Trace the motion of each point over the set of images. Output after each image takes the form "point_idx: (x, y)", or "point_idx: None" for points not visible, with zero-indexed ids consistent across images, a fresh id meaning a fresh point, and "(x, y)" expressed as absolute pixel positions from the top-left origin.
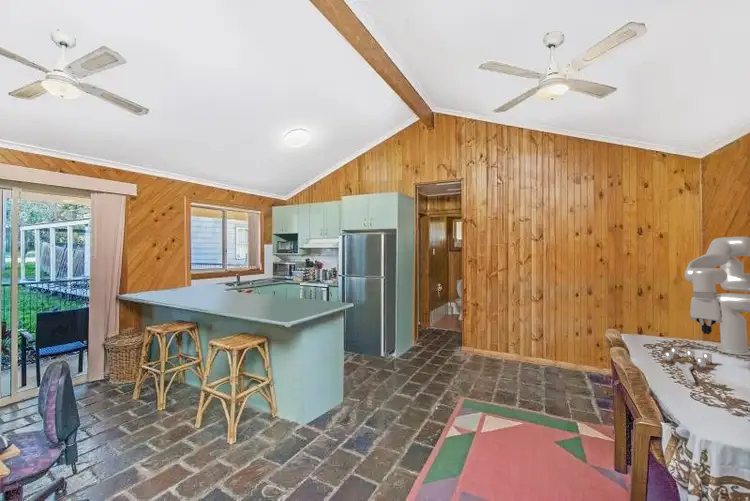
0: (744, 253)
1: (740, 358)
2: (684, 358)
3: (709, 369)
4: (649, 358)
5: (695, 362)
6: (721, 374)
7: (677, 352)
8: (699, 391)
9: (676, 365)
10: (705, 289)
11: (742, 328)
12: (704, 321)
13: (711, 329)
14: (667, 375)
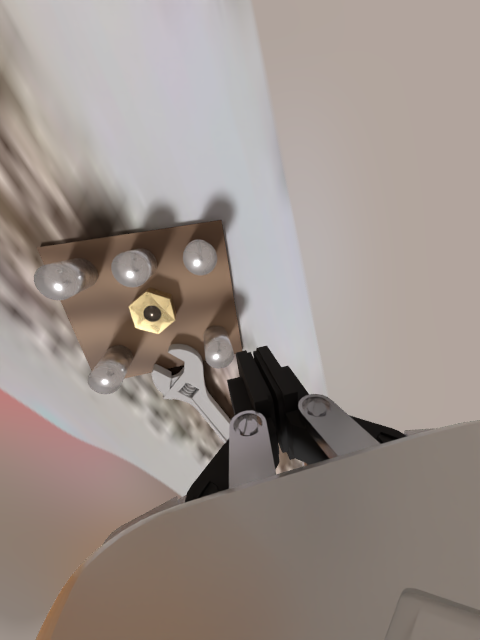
0: None
1: None
2: (141, 314)
3: (230, 318)
4: (37, 357)
5: (163, 271)
6: (264, 325)
7: (84, 285)
8: None
9: (169, 397)
10: None
11: None
12: (271, 457)
13: (295, 377)
14: (190, 453)
